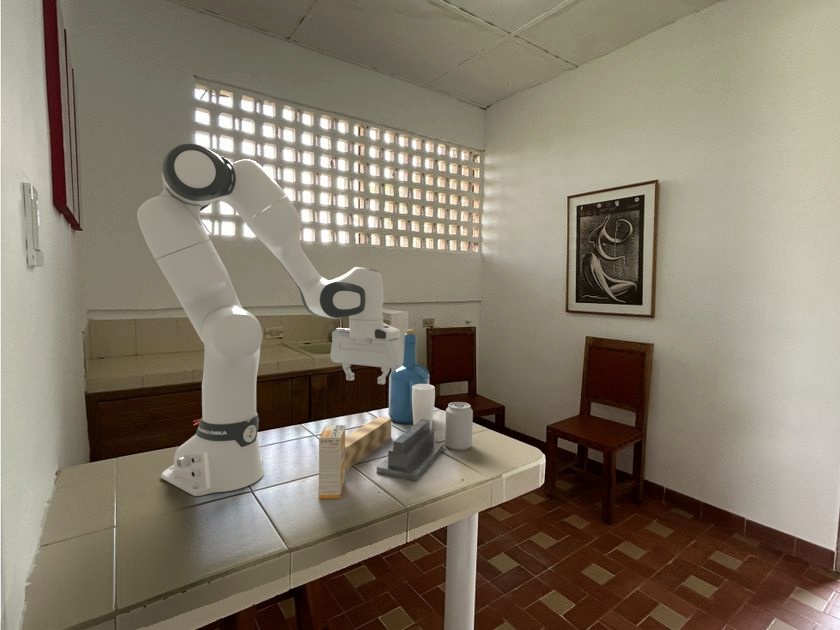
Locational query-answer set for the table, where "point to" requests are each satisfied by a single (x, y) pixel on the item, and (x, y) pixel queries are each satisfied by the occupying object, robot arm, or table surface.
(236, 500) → the table surface
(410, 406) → the blue rounded container
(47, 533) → the table surface
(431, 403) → the cream cylinder
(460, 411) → the can
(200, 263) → the robot arm
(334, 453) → the supplement box
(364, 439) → the wooden block
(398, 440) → the ridge
